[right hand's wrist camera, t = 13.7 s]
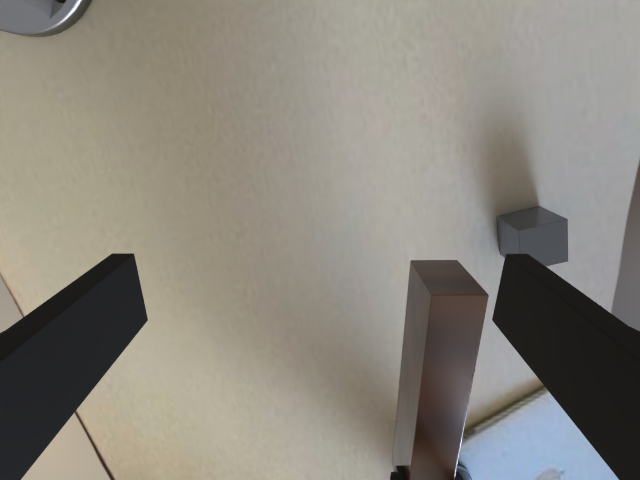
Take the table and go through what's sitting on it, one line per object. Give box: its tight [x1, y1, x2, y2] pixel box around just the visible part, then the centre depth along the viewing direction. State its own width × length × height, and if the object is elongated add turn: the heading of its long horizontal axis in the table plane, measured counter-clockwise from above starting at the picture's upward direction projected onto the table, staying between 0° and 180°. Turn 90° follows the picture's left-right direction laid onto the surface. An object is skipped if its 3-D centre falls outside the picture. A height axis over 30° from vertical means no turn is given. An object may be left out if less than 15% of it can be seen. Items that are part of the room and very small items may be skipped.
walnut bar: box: [392, 260, 488, 480], centre depth 31 cm, size 24×4×6 cm, turn 0°
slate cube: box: [497, 206, 568, 266], centre depth 40 cm, size 5×5×5 cm
